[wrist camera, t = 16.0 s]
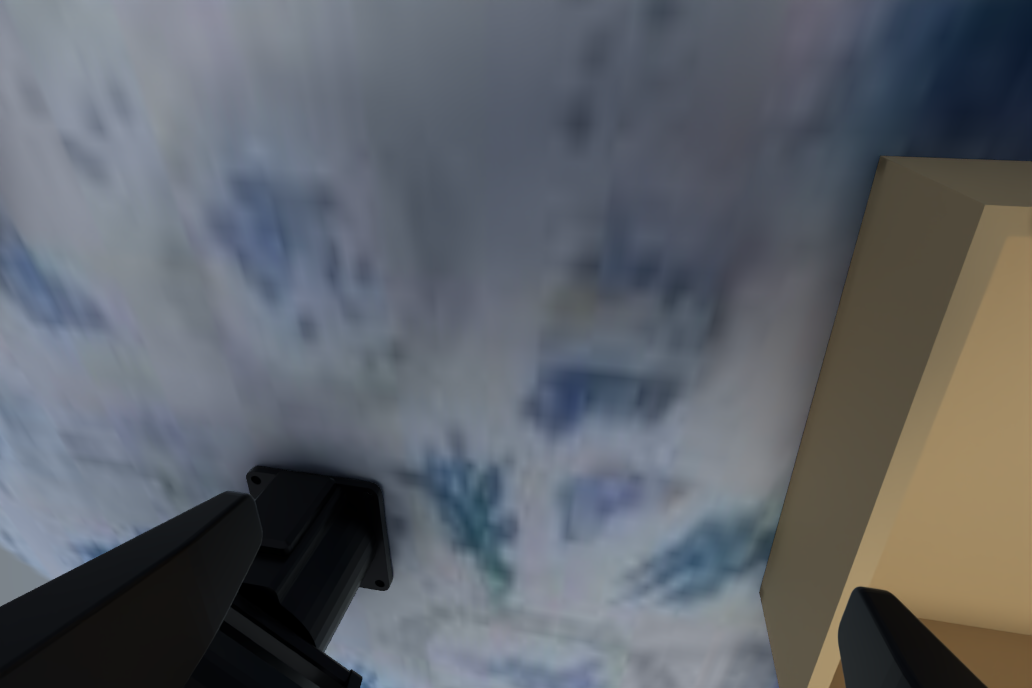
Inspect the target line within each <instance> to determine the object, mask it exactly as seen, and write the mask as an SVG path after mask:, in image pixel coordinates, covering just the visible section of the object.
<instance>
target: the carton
mask: <svg viewBox="0 0 1032 688" xmlns="http://www.w3.org/2000/svg"><path fill="white" fill-rule="evenodd" d="M859 586H862V587H869V588H876V589H882V590H886V591H889V592H891V593H892V594H893V595H895V596H896V597H897V598H898V599H899V600H900V601H901V602H902V603H903V604H904V605H905V606H906V607H907V608H908V609H909V610H910V611H911V612H912V613H913V614H914V615H915V616H916V617H917V618H918V619H919V620H920V621H921V622H922V623H923V624H924V625H925V626H926V627H927V628H928V629H929V630H930V631H931V632H932V633H933V634H934V635H935V636H936V637H937V638H938V639H939V640H940V641H941V642H943V643H944V644H945V645H946V646H947V647H948V648H949V649H950V650H951V651H952V652H953V653H954V654H955V655H956V656H957V657H958V658H959V659H960V660H961V661H962V662H963V663H964V664H965V665H966V666H967V667H968V668H969V669H970V670H971V671H972V672H973V673H974V674H975V675H976V676H977V677H978V678H979V679H980V680H981V681H982V682H983V683H984V684H985V685H986V686H987V687H988V688H1032V161H1010V160H982V159H955V158H928V157H900V156H880V159H879V163H878V166H877V170H876V174H875V177H874V181H873V184H872V188H871V192H870V195H869V199H868V202H867V206H866V210H865V213H864V217H863V220H862V224H861V228H860V231H859V235H858V238H857V242H856V246H855V249H854V253H853V257H852V260H851V264H850V267H849V271H848V275H847V278H846V282H845V285H844V289H843V293H842V296H841V300H840V303H839V307H838V311H837V314H836V318H835V321H834V325H833V329H832V332H831V336H830V339H829V343H828V347H827V350H826V354H825V357H824V361H823V365H822V368H821V372H820V375H819V379H818V383H817V386H816V390H815V394H814V397H813V401H812V404H811V408H810V412H809V415H808V419H807V422H806V426H805V430H804V433H803V437H802V440H801V444H800V448H799V451H798V455H797V458H796V462H795V466H794V469H793V473H792V476H791V480H790V484H789V487H788V491H787V494H786V498H785V502H784V505H783V509H782V512H781V516H780V520H779V523H778V527H777V531H776V534H775V538H774V541H773V545H772V549H771V552H770V556H769V559H768V563H767V567H766V570H765V574H764V577H763V581H762V585H761V588H760V592H759V593H760V597H761V602H762V607H763V612H764V617H765V621H766V626H767V631H768V636H769V641H770V645H771V650H772V655H773V660H774V665H775V669H776V674H777V679H778V684H779V688H846V686H845V680H844V675H843V669H842V663H841V657H840V651H839V646H838V628H839V624H840V621H841V618H842V616H843V613H844V611H845V608H846V605H847V603H848V600H849V597H850V595H851V593H852V591H853V589H855V588H856V587H859Z"/></svg>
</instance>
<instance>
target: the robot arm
mask: <svg viewBox="0 0 1032 688" xmlns="http://www.w3.org/2000/svg"><path fill="white" fill-rule="evenodd" d="M246 479H247V483H248V487H249V491H250V494H247V493H241V492H234V491H226V492H223V493H221V494H219V495H217V496H215V497H213V498H211V499H209V500H207V501H205V502H203V503H201V504H199V505H198V506H196V507H194V508H192V509H190V510H188V511H186V512H184V513H182V514H180V515H178V516H176V517H174V518H172V519H170V520H168V521H166V522H164V523H162V524H161V525H159V526H157V527H155V528H153V529H151V530H149V531H147V532H145V533H143V534H141V535H139V536H137V537H135V538H133V539H131V540H129V541H127V542H125V543H123V544H122V545H120V546H118V547H116V548H114V549H112V550H110V551H108V552H106V553H104V554H102V555H100V556H98V557H96V558H94V559H92V560H90V561H88V562H86V563H84V564H83V565H81V566H79V567H77V568H75V569H73V570H71V571H69V572H67V573H65V574H63V575H61V576H59V577H57V578H55V579H53V580H51V581H49V582H48V583H46V584H44V585H42V586H40V587H38V588H36V589H34V590H32V591H30V592H28V593H26V594H24V595H22V596H20V597H18V598H16V599H14V600H12V601H11V602H8V603H7V604H4V605H2V606H1V607H0V688H360V685H361V682H362V676H360V675H359V674H358V673H356V672H355V671H353V670H352V669H351V670H350V671H349V670H348V669H346V668H345V667H343V666H342V665H341V664H339V663H338V662H336V661H335V660H333V659H332V658H331V657H329V656H328V655H326V654H325V653H324V652H325V650H326V648H327V646H328V644H329V643H330V641H331V639H332V637H333V635H334V633H335V631H336V629H337V627H338V626H339V624H340V622H341V620H342V618H343V616H344V614H345V612H346V610H347V609H348V607H349V605H350V603H351V601H352V599H353V597H354V595H355V593H356V592H357V590H358V588H359V587H362V588H368V589H374V590H380V591H385V590H388V589H389V587H390V585H391V583H392V579H393V578H392V570H391V562H390V554H389V545H388V537H387V529H386V521H385V513H384V505H383V497H382V491H381V488H380V487H379V486H378V485H377V484H375V483H372V482H368V481H361V480H354V479H346V478H339V477H332V476H325V475H318V474H311V473H304V472H297V471H290V470H283V469H276V468H269V467H262V466H255V467H253V468H252V469H251V470H250V471H249V472H248V474H247V475H246ZM368 492H369V493H371V494H372V495H371V494H369V493H368ZM838 646H839V651H840V657H841V663H842V669H843V675H844V680H845V686H846V688H988V687H987V686H986V685H985V684H984V683H983V682H982V681H981V680H980V679H979V678H978V677H977V676H976V675H975V674H974V673H973V672H972V671H971V670H970V669H969V668H968V667H967V666H966V665H965V664H964V663H963V662H962V661H961V660H960V659H959V658H958V657H957V656H956V655H955V654H954V653H953V652H952V651H951V650H950V649H949V648H948V647H947V646H946V645H945V644H944V643H943V642H941V641H940V640H939V639H938V638H937V637H936V636H935V635H934V634H933V633H932V632H931V631H930V630H929V629H928V628H927V627H926V626H925V625H924V624H923V623H922V622H921V621H920V620H919V619H918V618H917V617H916V616H915V615H914V614H913V613H912V612H911V611H910V610H909V609H908V608H907V607H906V606H905V605H904V604H903V603H902V602H901V601H900V600H899V599H898V598H897V597H896V596H895V595H893V594H892V593H891V592H889V591H886V590H882V589H876V588H869V587H862V586H859V587H856V588H855V589H853V591H852V593H851V595H850V597H849V600H848V603H847V605H846V608H845V611H844V613H843V616H842V618H841V621H840V624H839V628H838Z"/></svg>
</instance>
